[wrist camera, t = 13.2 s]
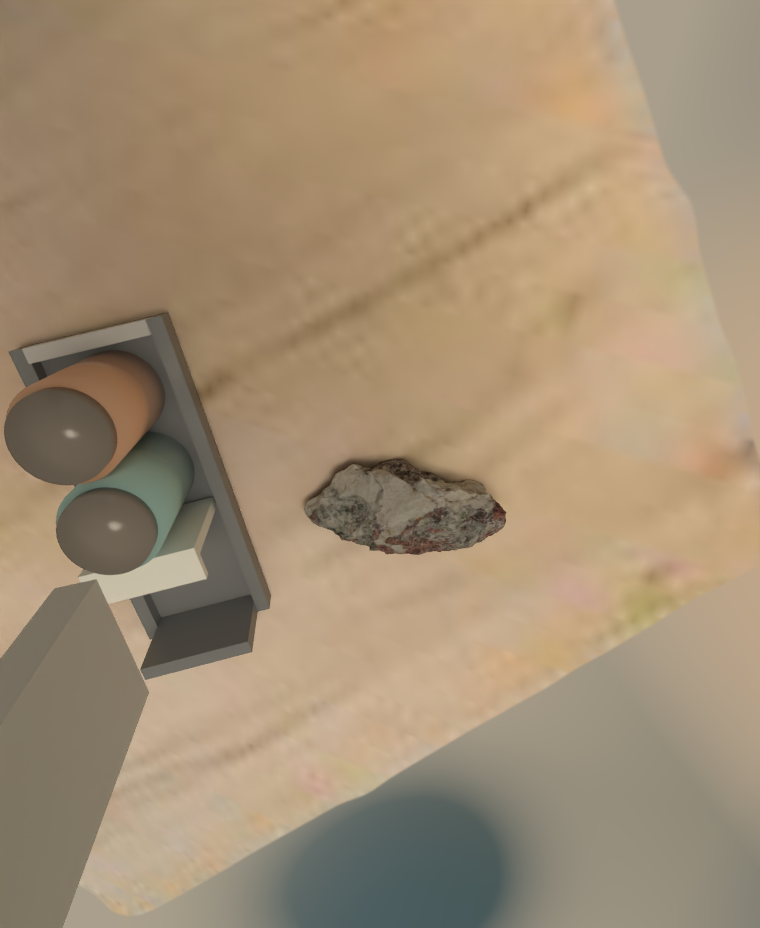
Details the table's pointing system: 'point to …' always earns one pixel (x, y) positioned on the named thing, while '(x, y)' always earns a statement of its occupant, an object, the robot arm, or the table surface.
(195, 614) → the lane
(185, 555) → the pusher
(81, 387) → the jar terracotta
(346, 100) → the table surface
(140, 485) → the jar teal
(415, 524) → the mineral rock
